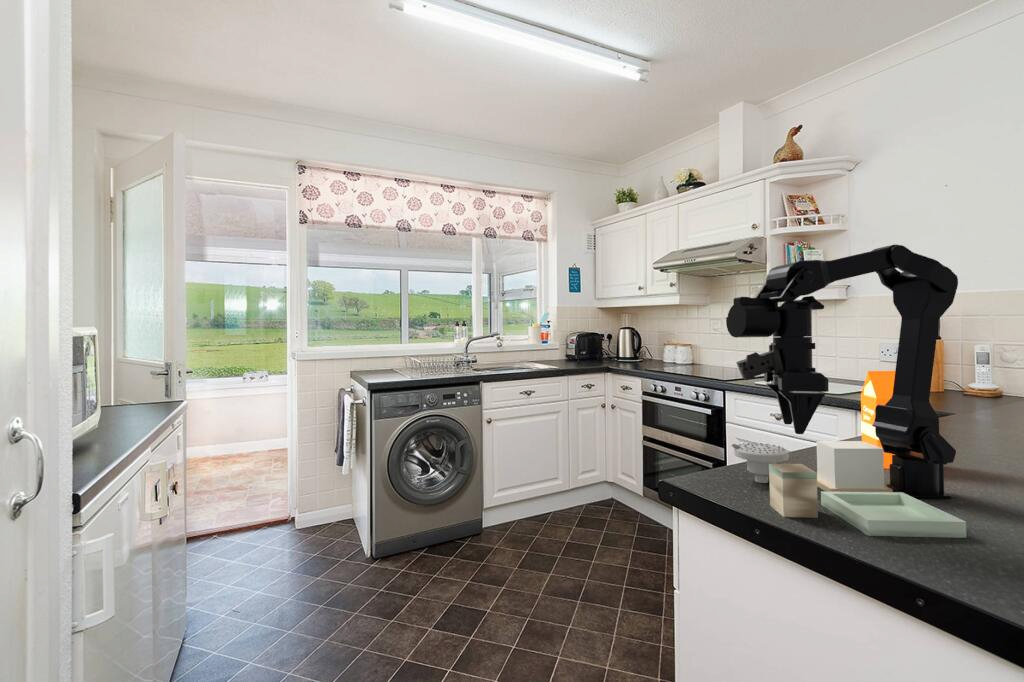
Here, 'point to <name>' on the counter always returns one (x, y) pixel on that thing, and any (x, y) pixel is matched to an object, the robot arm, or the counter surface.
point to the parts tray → (892, 514)
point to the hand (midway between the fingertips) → (793, 428)
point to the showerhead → (760, 458)
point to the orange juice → (875, 393)
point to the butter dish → (850, 467)
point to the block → (793, 490)
